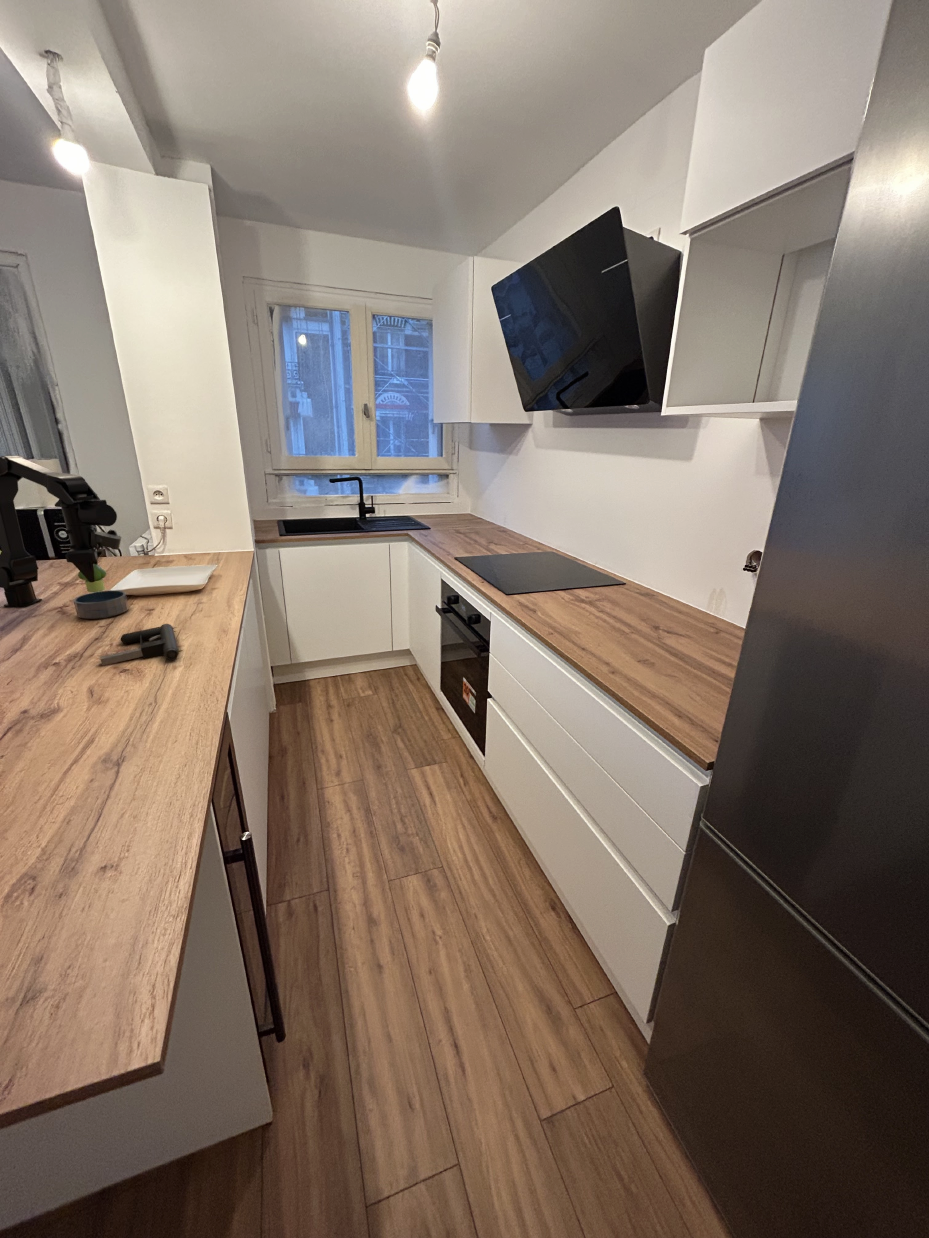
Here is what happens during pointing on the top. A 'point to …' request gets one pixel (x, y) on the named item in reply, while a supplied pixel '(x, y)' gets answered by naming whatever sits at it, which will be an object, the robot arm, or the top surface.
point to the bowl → (101, 604)
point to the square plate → (165, 580)
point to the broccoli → (98, 583)
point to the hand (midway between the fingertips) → (93, 579)
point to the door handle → (147, 645)
